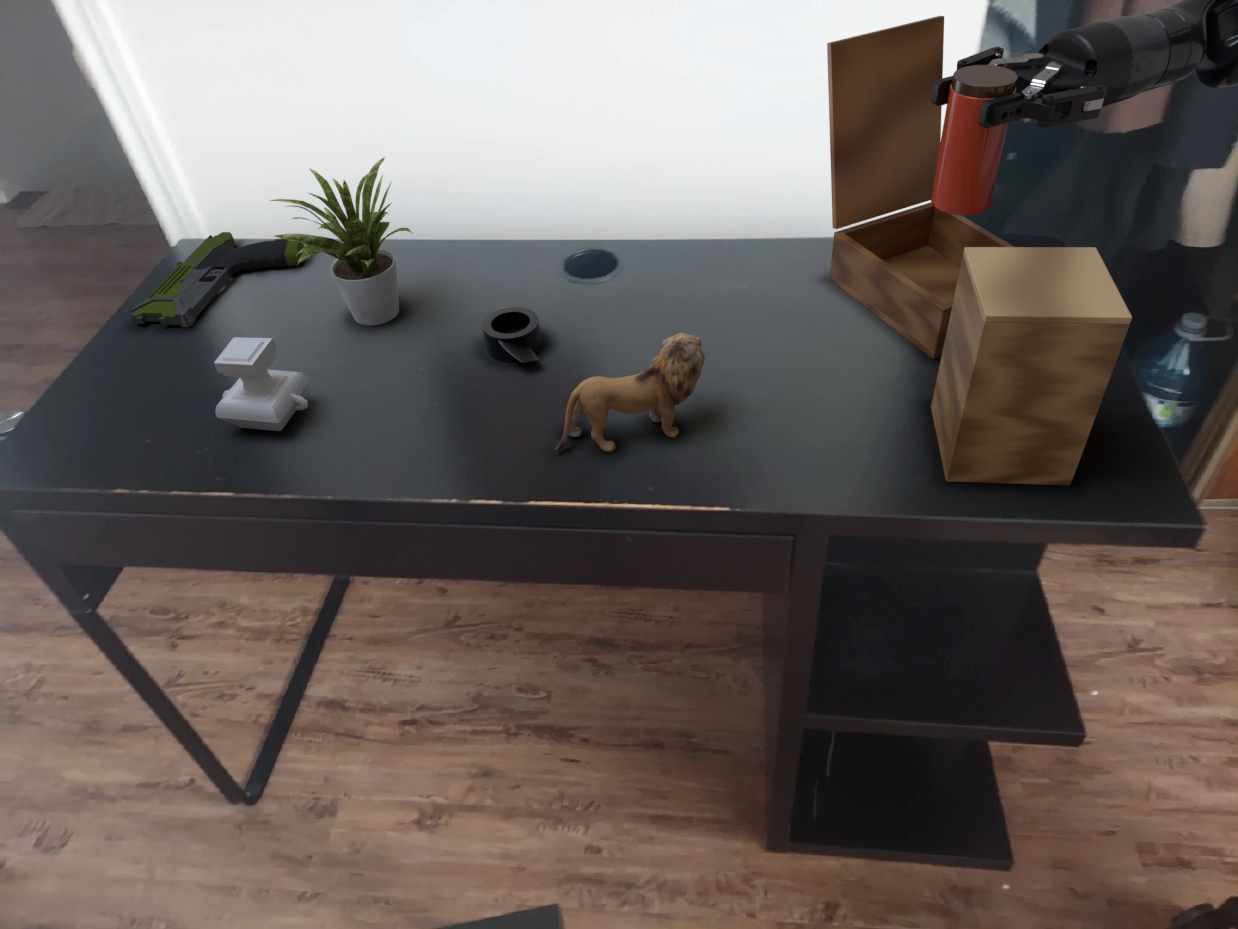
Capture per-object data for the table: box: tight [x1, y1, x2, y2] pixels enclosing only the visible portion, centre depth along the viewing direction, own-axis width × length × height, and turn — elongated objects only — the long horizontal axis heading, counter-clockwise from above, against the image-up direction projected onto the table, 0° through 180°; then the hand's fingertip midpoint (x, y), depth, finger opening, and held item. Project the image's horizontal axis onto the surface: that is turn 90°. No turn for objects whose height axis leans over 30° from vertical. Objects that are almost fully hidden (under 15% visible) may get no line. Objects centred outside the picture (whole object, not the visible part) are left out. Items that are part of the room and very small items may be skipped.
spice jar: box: [930, 65, 1018, 216], centre depth 85 cm, size 6×6×12 cm
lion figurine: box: [554, 332, 706, 453], centre depth 82 cm, size 15×5×9 cm, turn 112°
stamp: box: [213, 336, 311, 432], centre depth 87 cm, size 9×7×8 cm
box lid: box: [826, 15, 945, 230], centre depth 97 cm, size 18×14×4 cm
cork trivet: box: [964, 246, 1133, 324], centre depth 70 cm, size 10×10×1 cm
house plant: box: [269, 156, 414, 326], centre depth 99 cm, size 14×14×16 cm
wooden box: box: [829, 202, 1015, 360], centre depth 96 cm, size 18×14×6 cm
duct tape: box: [482, 305, 543, 364], centre depth 96 cm, size 8×10×3 cm
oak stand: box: [930, 254, 1131, 486], centre depth 75 cm, size 10×10×16 cm
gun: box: [130, 231, 306, 328], centre depth 109 cm, size 2×19×15 cm
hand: (958, 104), depth 82 cm, fingers closed on spice jar, 5 cm apart
